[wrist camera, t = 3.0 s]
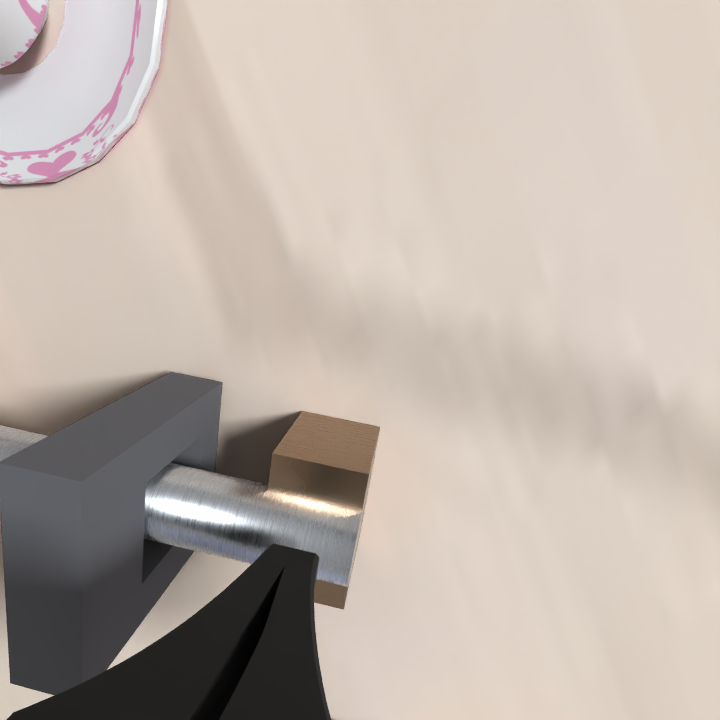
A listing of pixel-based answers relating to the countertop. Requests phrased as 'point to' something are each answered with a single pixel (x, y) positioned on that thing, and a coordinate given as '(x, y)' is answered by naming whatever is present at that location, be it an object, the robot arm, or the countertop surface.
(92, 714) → the robot arm
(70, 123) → the teacup
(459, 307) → the countertop surface
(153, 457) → the collar
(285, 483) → the pipe rig
